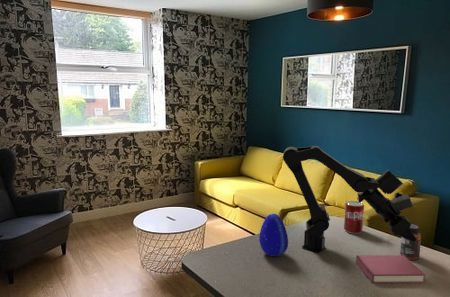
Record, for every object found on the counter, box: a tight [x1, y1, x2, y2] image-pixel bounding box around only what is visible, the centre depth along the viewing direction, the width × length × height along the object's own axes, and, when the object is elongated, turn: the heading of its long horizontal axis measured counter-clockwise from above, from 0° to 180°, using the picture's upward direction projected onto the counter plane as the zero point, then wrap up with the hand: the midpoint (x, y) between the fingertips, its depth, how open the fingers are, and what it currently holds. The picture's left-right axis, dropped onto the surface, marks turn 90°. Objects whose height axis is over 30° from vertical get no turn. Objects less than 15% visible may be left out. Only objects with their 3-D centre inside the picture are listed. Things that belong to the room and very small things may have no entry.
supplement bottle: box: [399, 223, 422, 261], centre depth 116 cm, size 6×6×11 cm
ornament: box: [258, 213, 289, 257], centre depth 118 cm, size 11×9×15 cm
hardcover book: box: [355, 254, 426, 284], centre depth 106 cm, size 16×12×3 cm
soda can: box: [343, 200, 365, 235], centre depth 138 cm, size 7×7×12 cm
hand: (411, 235), depth 116 cm, fingers open, 9 cm apart
